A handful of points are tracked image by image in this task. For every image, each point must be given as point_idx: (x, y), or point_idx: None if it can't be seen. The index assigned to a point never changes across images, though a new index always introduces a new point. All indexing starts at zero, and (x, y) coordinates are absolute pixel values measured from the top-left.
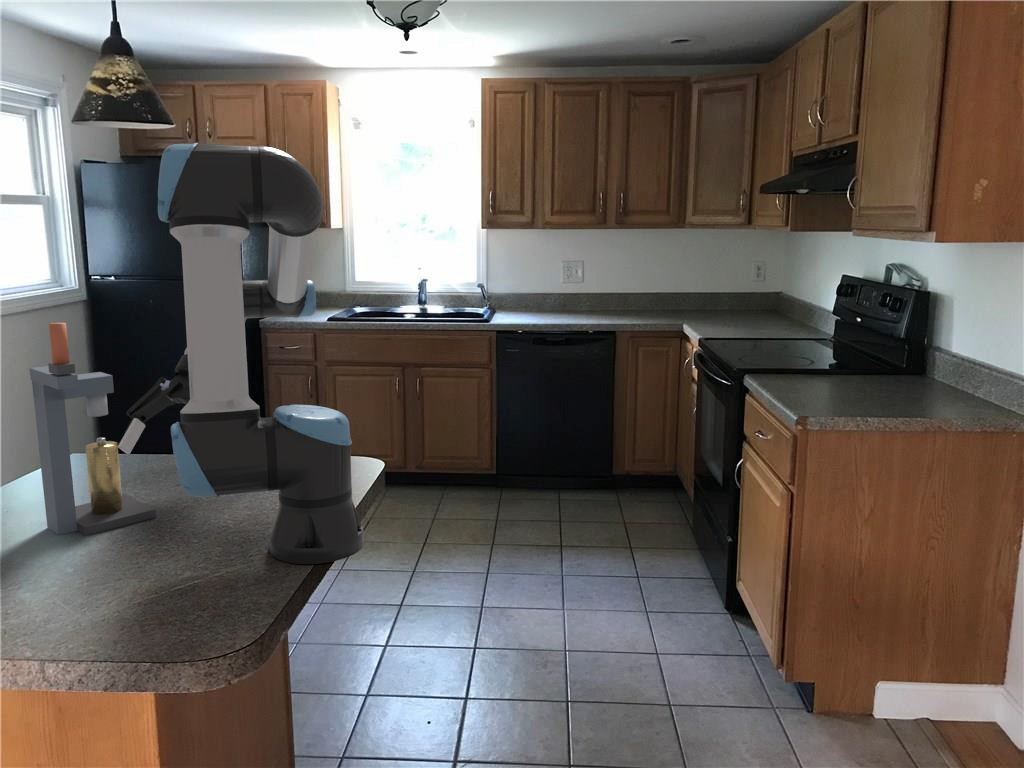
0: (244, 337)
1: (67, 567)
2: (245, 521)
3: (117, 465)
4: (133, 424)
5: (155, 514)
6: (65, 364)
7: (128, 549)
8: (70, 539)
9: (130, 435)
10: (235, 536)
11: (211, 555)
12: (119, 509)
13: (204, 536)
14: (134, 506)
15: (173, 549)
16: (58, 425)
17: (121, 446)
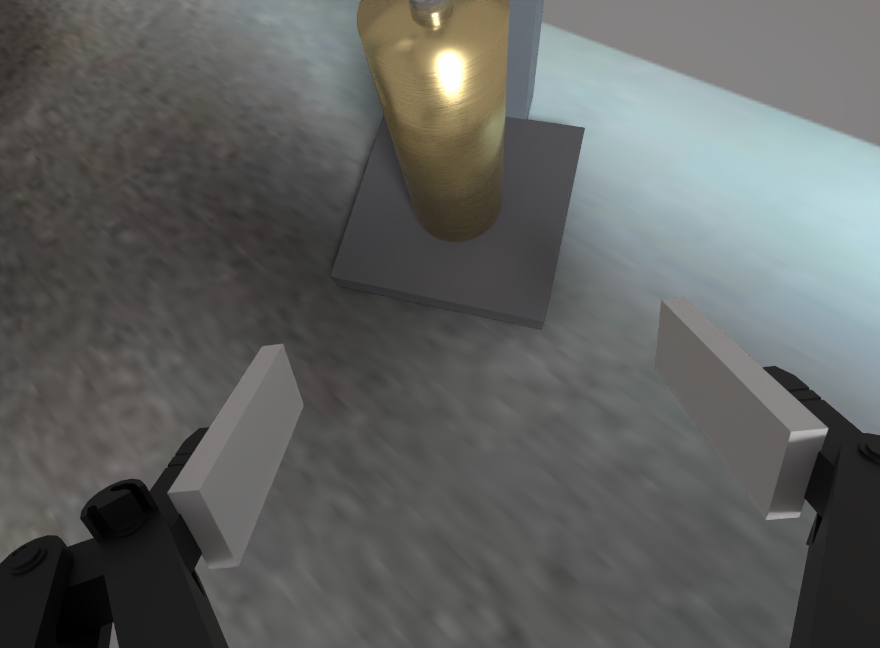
0: None
1: (280, 20)
2: (83, 400)
3: (388, 121)
4: (751, 390)
5: (335, 282)
6: None
7: (237, 128)
8: None
9: (703, 366)
10: (48, 305)
11: (39, 199)
12: (414, 211)
13: (123, 265)
14: (408, 259)
15: (141, 178)
16: None
17: (664, 306)
